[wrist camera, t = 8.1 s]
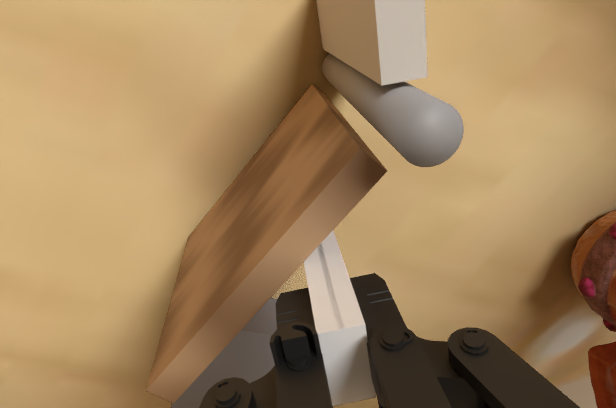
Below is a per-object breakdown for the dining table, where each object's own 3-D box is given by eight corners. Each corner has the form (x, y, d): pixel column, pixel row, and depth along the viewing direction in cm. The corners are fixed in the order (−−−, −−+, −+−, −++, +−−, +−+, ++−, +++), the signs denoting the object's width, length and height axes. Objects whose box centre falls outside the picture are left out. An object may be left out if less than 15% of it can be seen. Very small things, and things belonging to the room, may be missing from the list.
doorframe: (310, -16, 22) (385, -43, 10) (344, -22, 22) (463, -57, 10) (353, 298, 31) (422, 500, 18) (377, 293, 31) (463, 491, 18)
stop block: (200, 283, 29) (192, 322, 26) (285, 298, 31) (289, 337, 27) (174, 390, 33) (164, 438, 29) (251, 399, 34) (251, 446, 31)
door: (311, 84, 24) (360, 148, 13) (346, 113, 25) (417, 195, 14) (188, 236, 27) (145, 390, 16) (223, 258, 28) (204, 417, 17)
